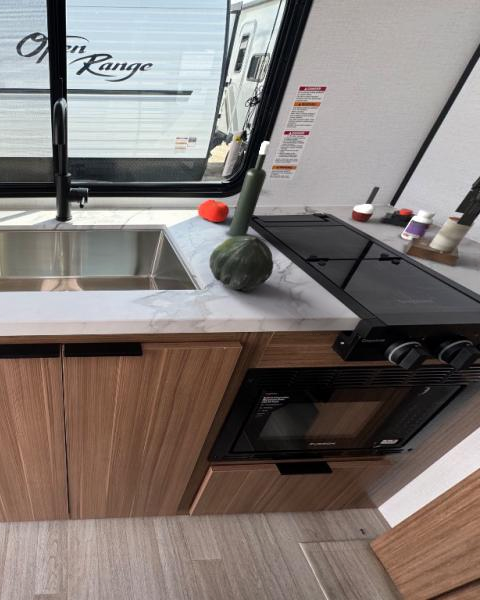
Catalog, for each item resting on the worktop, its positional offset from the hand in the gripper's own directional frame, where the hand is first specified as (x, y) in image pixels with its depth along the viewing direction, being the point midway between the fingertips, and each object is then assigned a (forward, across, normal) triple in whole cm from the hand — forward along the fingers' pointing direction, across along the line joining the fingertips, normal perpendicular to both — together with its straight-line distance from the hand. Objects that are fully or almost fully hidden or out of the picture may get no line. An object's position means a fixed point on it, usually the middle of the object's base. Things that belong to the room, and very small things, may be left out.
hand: (461, 218), depth 95 cm
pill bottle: (+13, -13, -6) cm, 19 cm away
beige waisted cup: (+10, 0, 0) cm, 10 cm away
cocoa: (+13, -21, -22) cm, 33 cm away
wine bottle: (+13, +28, -52) cm, 61 cm away
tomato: (+13, +20, -65) cm, 70 cm away
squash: (+13, +61, -41) cm, 74 cm away
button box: (+13, -28, -10) cm, 32 cm away
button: (+9, -28, -10) cm, 31 cm away
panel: (+13, 0, -1) cm, 13 cm away
